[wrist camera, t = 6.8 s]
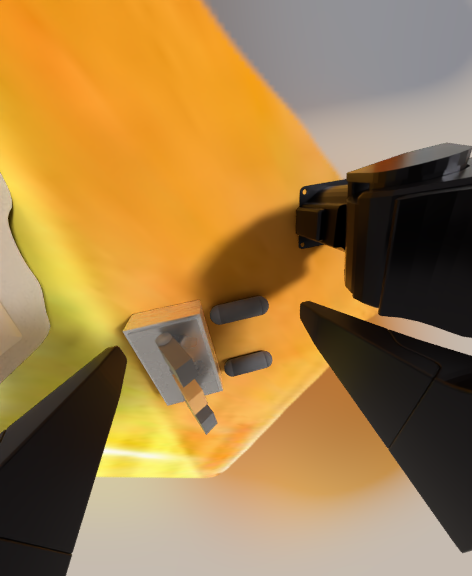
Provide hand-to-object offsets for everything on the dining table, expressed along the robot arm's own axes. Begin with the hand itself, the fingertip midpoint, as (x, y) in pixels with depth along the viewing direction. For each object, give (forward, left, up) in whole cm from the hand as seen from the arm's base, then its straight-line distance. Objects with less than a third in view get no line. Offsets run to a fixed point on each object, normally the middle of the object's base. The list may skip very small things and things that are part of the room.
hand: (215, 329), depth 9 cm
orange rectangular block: (+6, +12, -8) cm, 16 cm away
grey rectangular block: (+6, +8, -8) cm, 12 cm away
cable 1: (-2, +7, -12) cm, 14 cm away
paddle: (+6, +17, -8) cm, 19 cm away
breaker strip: (+6, +12, -12) cm, 18 cm away
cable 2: (-2, +17, -12) cm, 21 cm away
